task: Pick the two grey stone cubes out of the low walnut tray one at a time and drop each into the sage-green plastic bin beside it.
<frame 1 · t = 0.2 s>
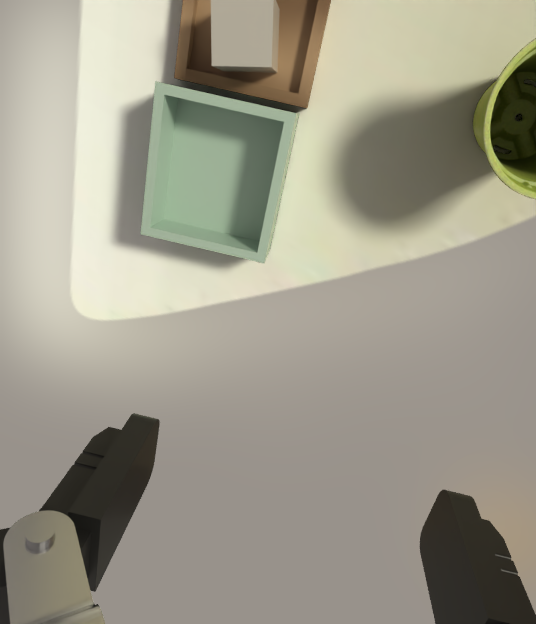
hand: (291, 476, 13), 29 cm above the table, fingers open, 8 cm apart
plant pot: (513, 117, 34), on the table
bin: (224, 172, 38), on the table
stone b: (250, 41, 34), point 1 cm above the table, touching tray
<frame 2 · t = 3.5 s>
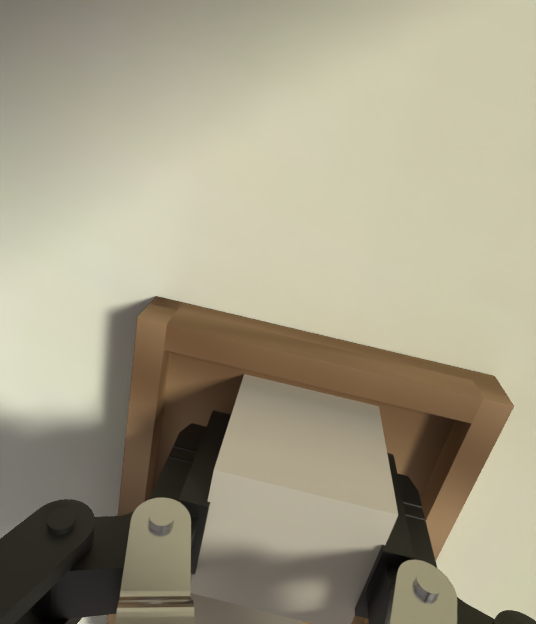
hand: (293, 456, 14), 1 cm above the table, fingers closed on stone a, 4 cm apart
tray: (271, 521, 16), on the table
stone b: (248, 609, 18), point 1 cm above the table, touching tray
stone a: (295, 443, 14), point 1 cm above the table, touching gripper, tray
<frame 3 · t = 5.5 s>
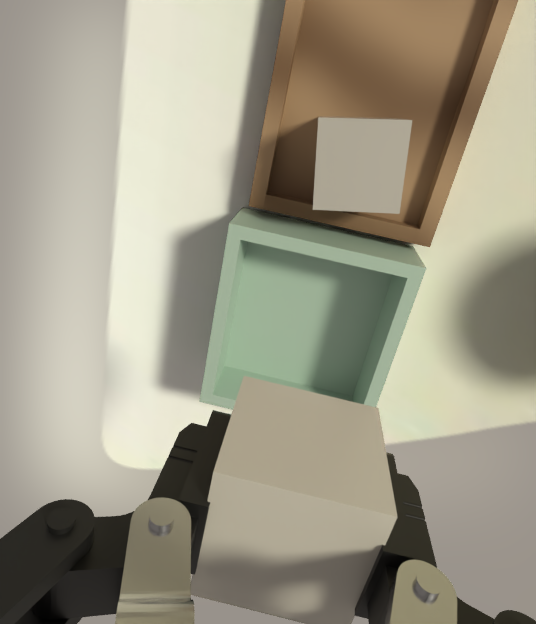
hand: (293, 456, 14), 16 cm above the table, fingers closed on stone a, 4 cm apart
tray: (376, 75, 23), on the table
bin: (305, 312, 29), on the table
stone b: (355, 158, 25), point 1 cm above the table, touching tray
stone a: (295, 445, 14), point 15 cm above the table, touching gripper
when the fingers open (5 cm above the table, at t = 7.5 s): stone a drops 4 cm, resting on bin.
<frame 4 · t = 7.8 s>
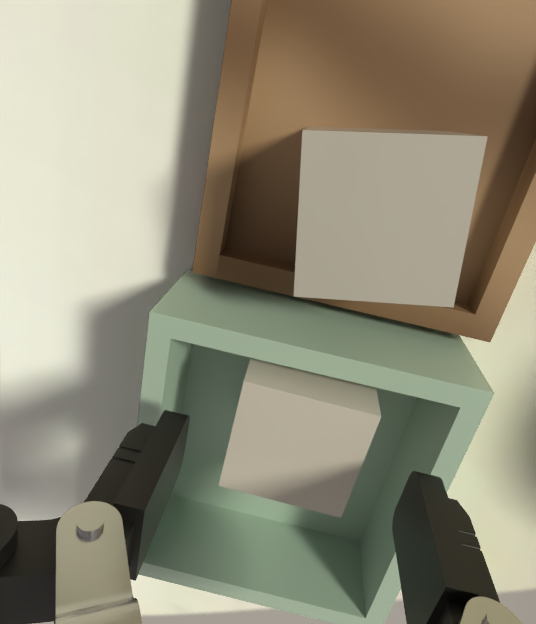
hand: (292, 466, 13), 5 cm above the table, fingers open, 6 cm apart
tray: (405, 57, 14), on the table
bin: (288, 422, 19), on the table
stone b: (368, 196, 15), point 1 cm above the table, touching tray
stone a: (301, 383, 18), point 1 cm above the table, touching bin
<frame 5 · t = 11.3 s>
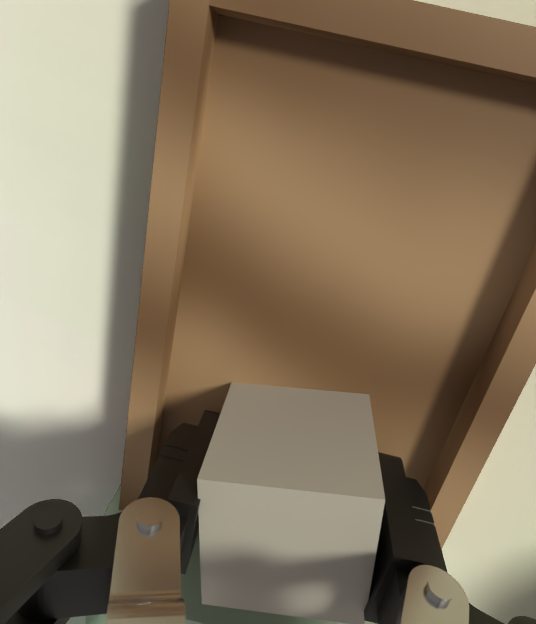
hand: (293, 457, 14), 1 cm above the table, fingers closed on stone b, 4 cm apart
tray: (328, 320, 13), on the table
bin: (231, 615, 19), on the table
stone b: (295, 443, 14), point 1 cm above the table, touching gripper, tray
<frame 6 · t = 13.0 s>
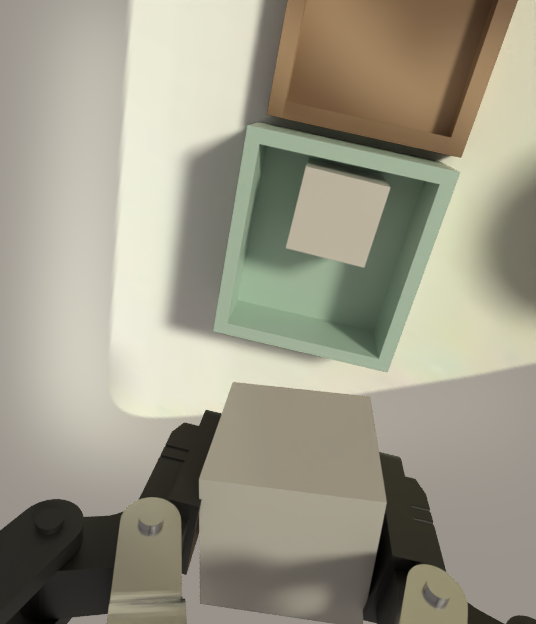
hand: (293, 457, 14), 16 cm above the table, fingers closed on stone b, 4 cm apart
bin: (324, 239, 27), on the table
stone b: (295, 444, 14), point 16 cm above the table, touching gripper
stone a: (335, 202, 26), point 1 cm above the table, touching bin
when the fingers open (5 cm above the table, at t = 15.1 s): stone b drops 4 cm, resting on bin.
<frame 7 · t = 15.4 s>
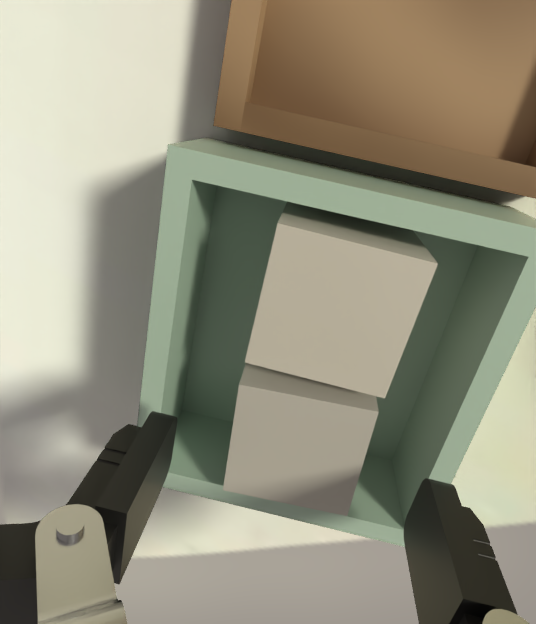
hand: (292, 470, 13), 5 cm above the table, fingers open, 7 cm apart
bin: (315, 322, 17), on the table
stone b: (302, 383, 18), point 1 cm above the table, touching bin
stone a: (332, 269, 16), point 1 cm above the table, touching bin
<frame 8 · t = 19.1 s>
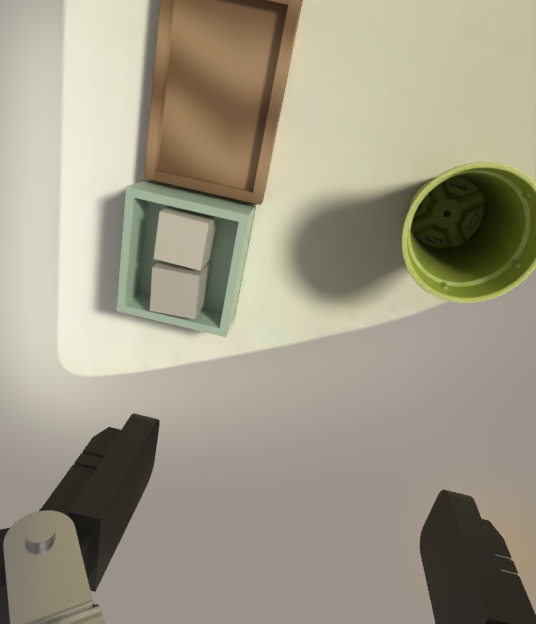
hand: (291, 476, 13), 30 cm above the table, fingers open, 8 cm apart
plant pot: (443, 211, 39), on the table
tray: (220, 94, 37), on the table
bin: (191, 253, 43), on the table
stone b: (186, 278, 43), point 1 cm above the table, touching bin
stone a: (193, 230, 41), point 1 cm above the table, touching bin
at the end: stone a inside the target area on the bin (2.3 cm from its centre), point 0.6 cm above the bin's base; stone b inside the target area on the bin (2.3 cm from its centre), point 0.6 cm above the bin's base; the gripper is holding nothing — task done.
